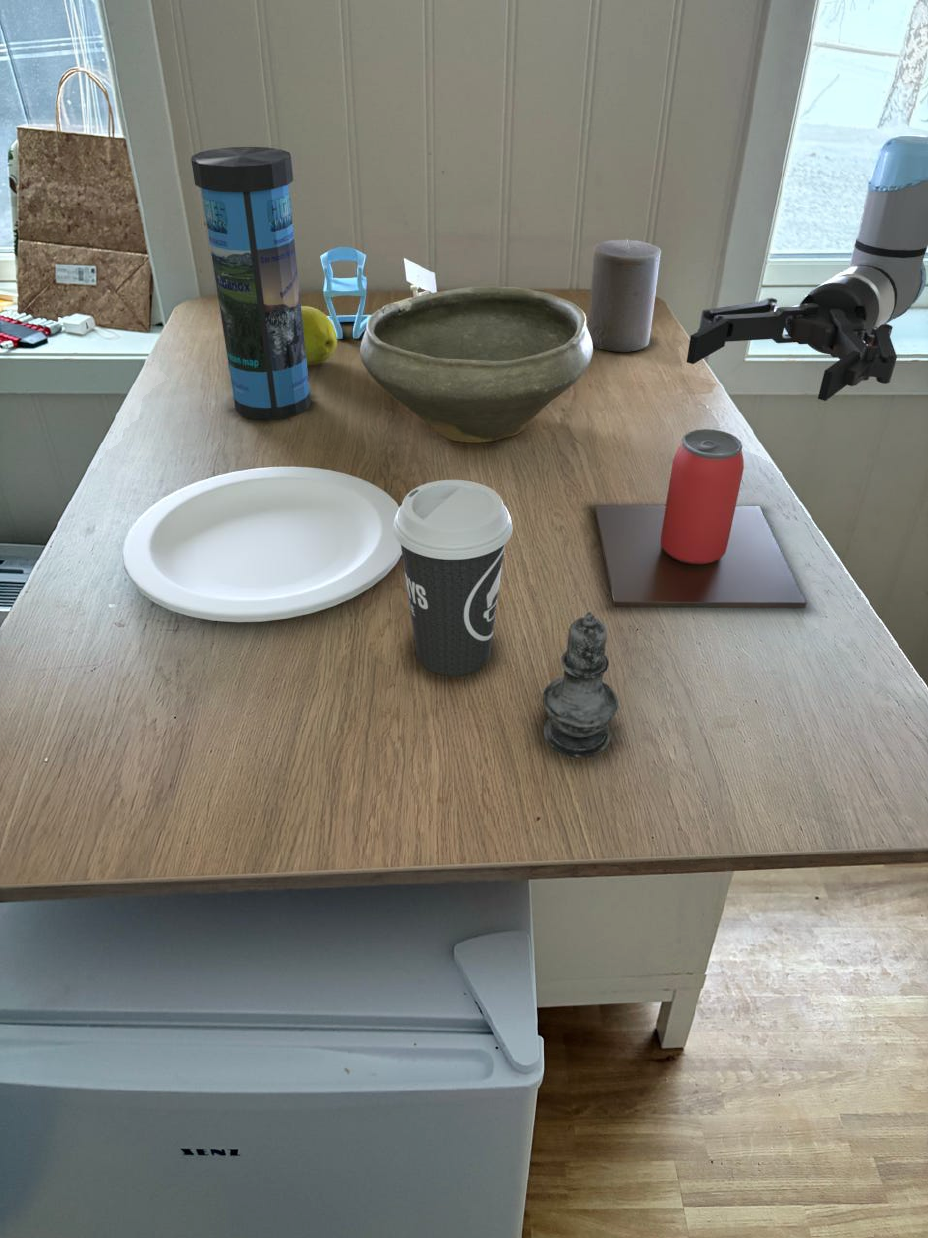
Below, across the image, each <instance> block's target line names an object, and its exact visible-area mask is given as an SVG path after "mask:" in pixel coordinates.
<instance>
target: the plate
mask: <svg viewBox="0 0 928 1238" xmlns="http://www.w3.org/2000/svg"><path fill="white" fill-rule="evenodd" d="M400 507H401V506H399V504H398V503H397V502H396V500H394V499H393V498H392V496H391V495H389V493H388V492H386V491H385V490H383V489H382V488H380V487H378V486H377V485H375V484H373V483H371V482H369V481H366V480H365V479H363V478H360V477H357V476H354V475H352V474H351V475H350V474H348V473H344V472H339V471H335V470H331V469H324V468H316V467H309V466H308V467H306V466H270V467H269V466H268V467H257V468H250V469H244V470H238V471H232V472H228V473H224V474H219V475H216V476H212V477H209V478H206V479H202V480H199V481H197V482H194V483H192V484H189V485H187V486H185V487H182V488H181V489H178V490H176V491H174V492H172V493H171V494H169V495H167V496H165V497H163V498H162V499H160V500H159V501H157V502H155V503H154V504H153V505H152V506H150V507H149V508H148V509H147V510H146V511H145V512H144V513H142V514H141V516H138V518H137V519H136V521H135V522H134V523H133V524H132V526H131V527H130V529H129V530H128V532H127V534H126V536H125V540H124V542H123V546H122V547H123V548H122V559H123V560H122V561H123V565H124V566H123V567H124V570H125V573H126V575H127V577H128V579H129V580H130V582H131V585H133V586H134V587H135V589H136V590H137V591H138V592H139V593H140V594H141V595H142V596H144V597H146V598H147V599H148V600H150V601H151V602H153V603H154V604H156V605H159V606H161V607H162V608H165V609H167V610H169V611H171V612H174V613H178V614H181V615H183V616H188V617H191V618H196V619H202V620H207V621H214V622H215V621H216V622H229V623H257V622H258V623H259V622H261V623H262V622H269V621H277V620H286V619H291V618H296V617H301V616H305V615H309V614H313V613H317V612H320V611H323V610H326V609H329V608H332V607H335V606H337V605H339V604H342V603H344V602H346V601H349V600H351V599H353V598H355V597H357V596H359V595H360V594H363V593H364V592H365V591H367V590H368V589H370V588H372V587H373V586H375V585H377V583H379V582H380V581H382V579H384V578H385V577H386V576H387V575H388V574H389V573H390V572H391V570H392V569H393V568H394V567H396V565H397V563H398V562H399V560H400V558H401V557H402V550H401V544H400V543H399V542H398V541H397V539H396V538H395V536H394V533H393V524H394V519H395V516H396V514H397V512H398V510H399V508H400Z"/></svg>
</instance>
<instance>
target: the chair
mask: <svg viewBox="0 0 928 1238" xmlns="http://www.w3.org/2000/svg"><path fill="white" fill-rule="evenodd" d="M366 258H367V255H366V254H364V253H363V252H361V251H359V250H357V249H355V248H352V247H349V246H338V247H334V248H332V249H329V250H328V251H327V252H325V253H323V254H321V255H320V261H321V265H322V269H323V274H324V281H323V282H324V283H323V290H322V293H323V298H324V300H325V303H326V307H327V310H328V312H329V315H326V316H327V317H328V318H329V320H330V321H331V322H332V324H333V325H334V328H335V331H336V337H337V340H342V339H343V338H344V337H343V336H344V335H343V334H344V333H343V329H342V326H341V324H340V323H350V322H351V323H352V322H354V323H353V328H352V337H353V339H357V340H358V339H359V338H360V337H361V336H362V335H363V333H365V331H366V325H367V321H368V319H369V318H370V316H371V315H372V314H364V310H365V306H366V300H367V283H368V282H367V276H364V274H363V273H364V266H365V261H366ZM339 261H351V262H357V268H356V275H357V277H356V276H355V277H333V276H334V273H333V268H332V265H331V263H333V262H339ZM339 296H340V297H341V296H352V297H360V299H359V305H358V309H357V313H356V314H355V315H353V314H352V315H337V313H336V310H335V308H334V304H333V301H332V298H333V297H339Z"/></svg>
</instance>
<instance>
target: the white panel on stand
mask: <svg viewBox="0 0 928 1238" xmlns="http://www.w3.org/2000/svg"><path fill="white" fill-rule="evenodd" d="M403 261H404V270H405V278H406V279H405V280H406V282H408V283H410V287H409V288H410V291H412V293H413V297H417V296H421V295H426V294H430V293H435V292H438V290H437V281H436V272H433V271H431V270H428V269H426V268H424V267H422V266H421V265H420V264H417V263H416V262H413V261H410V260H409V259H407V258H405V257H403ZM420 289H422V290H423V291H420V292H419V291H418V290H420Z"/></svg>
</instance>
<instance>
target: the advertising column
mask: <svg viewBox="0 0 928 1238" xmlns="http://www.w3.org/2000/svg"><path fill="white" fill-rule="evenodd" d="M190 162H191V167H192V173H193V180H194V185H195V186H196V187H199V188H200V190H201V196H202V197H201V198H202V203H203V209H204V217H205V222H206V228H207V235H208V241H209V247H210V255H211V260H212V266H213V274H214V280H215V284H216V286H215V287H216V292H217V300H218V305H219V312H220V318H221V325H222V331H223V337H224V344H225V350H226V357H227V363H228V369H229V376H230V377H229V378H230V382H231V389H232V395H233V402H234V408H235V411H236V412H237V413H239V414H240V415H241V416H242V417H245V418H249V419H252V420H261V421H262V420H263V421H272V420H284V419H287V418H288V419H289V418H291V417H295V416H298V415H300V414H301V413H304V412H305V411H307V410H308V408H310V406H311V404H312V400H311V391H310V380H309V373H308V372H309V371H308V365H307V360H306V350H305V341H304V331H303V321H302V311H301V306H302V304H301V294H300V293H301V291H300V284H299V273H298V263H297V254H296V244H295V234H294V224H293V216H292V215H293V214H292V204H291V195H290V184H291V183H292V182H294V174H293V163H292V156H291V153H290V152H289V151H286V150H284V149H282V148H281V149H280V148H274V147H268V146H267V147H265V146H231V147H221V148H214V149H209V150H204V151H200V152H198V153H195V154H193V155H191V159H190Z"/></svg>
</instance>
